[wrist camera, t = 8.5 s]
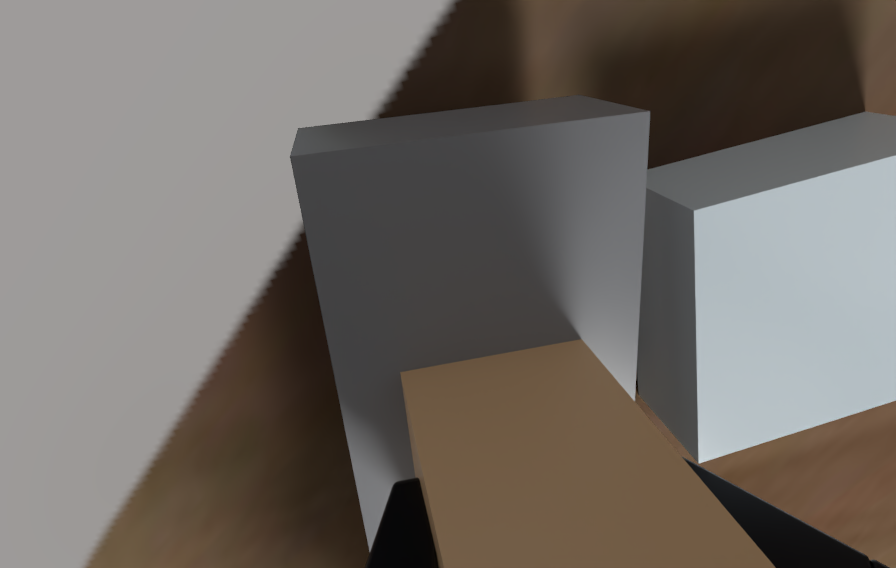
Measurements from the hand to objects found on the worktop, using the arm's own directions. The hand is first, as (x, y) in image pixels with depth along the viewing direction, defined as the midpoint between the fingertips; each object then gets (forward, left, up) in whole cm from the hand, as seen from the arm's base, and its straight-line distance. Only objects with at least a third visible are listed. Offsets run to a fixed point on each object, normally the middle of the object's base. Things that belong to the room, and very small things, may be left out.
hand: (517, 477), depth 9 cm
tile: (-7, 0, -5) cm, 9 cm away
